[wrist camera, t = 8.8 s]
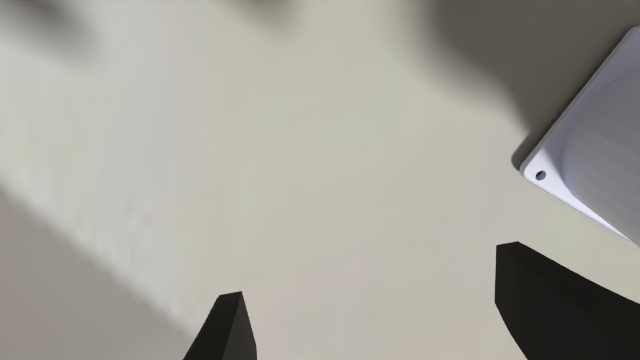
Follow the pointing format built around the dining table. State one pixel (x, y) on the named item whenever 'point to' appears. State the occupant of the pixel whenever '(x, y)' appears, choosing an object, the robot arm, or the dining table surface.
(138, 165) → the dining table surface
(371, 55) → the dining table surface
